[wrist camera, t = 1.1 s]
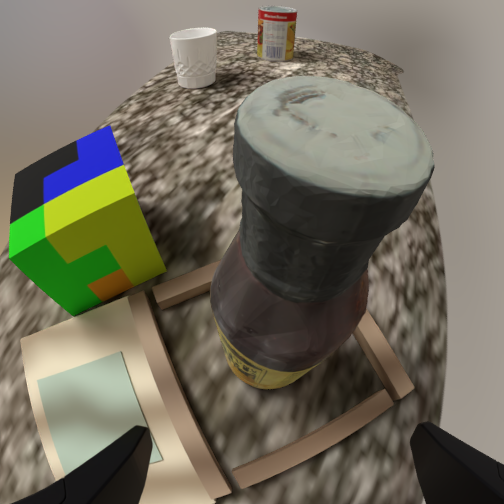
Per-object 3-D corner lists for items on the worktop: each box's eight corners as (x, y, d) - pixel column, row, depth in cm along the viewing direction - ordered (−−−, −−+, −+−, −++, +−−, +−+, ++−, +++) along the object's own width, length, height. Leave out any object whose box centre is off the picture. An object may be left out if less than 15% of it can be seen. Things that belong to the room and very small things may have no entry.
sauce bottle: (220, 323, 23) (170, 60, 7) (296, 309, 24) (375, 58, 7) (235, 403, 20) (166, 271, 3) (317, 385, 20) (521, 211, 4)
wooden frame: (408, 395, 20) (417, 392, 18) (82, 525, 12) (74, 529, 11) (303, 231, 28) (305, 221, 27) (25, 341, 21) (16, 336, 20)
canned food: (291, 52, 57) (294, 7, 47) (294, 62, 53) (299, 13, 43) (257, 50, 57) (258, 5, 47) (257, 60, 53) (258, 10, 43)
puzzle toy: (136, 200, 30) (110, 125, 22) (167, 271, 26) (134, 192, 17) (59, 238, 28) (15, 174, 19) (73, 316, 23) (9, 258, 15)
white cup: (177, 76, 48) (172, 30, 40) (218, 72, 49) (216, 26, 40) (173, 93, 44) (166, 41, 36) (219, 88, 45) (217, 36, 36)
